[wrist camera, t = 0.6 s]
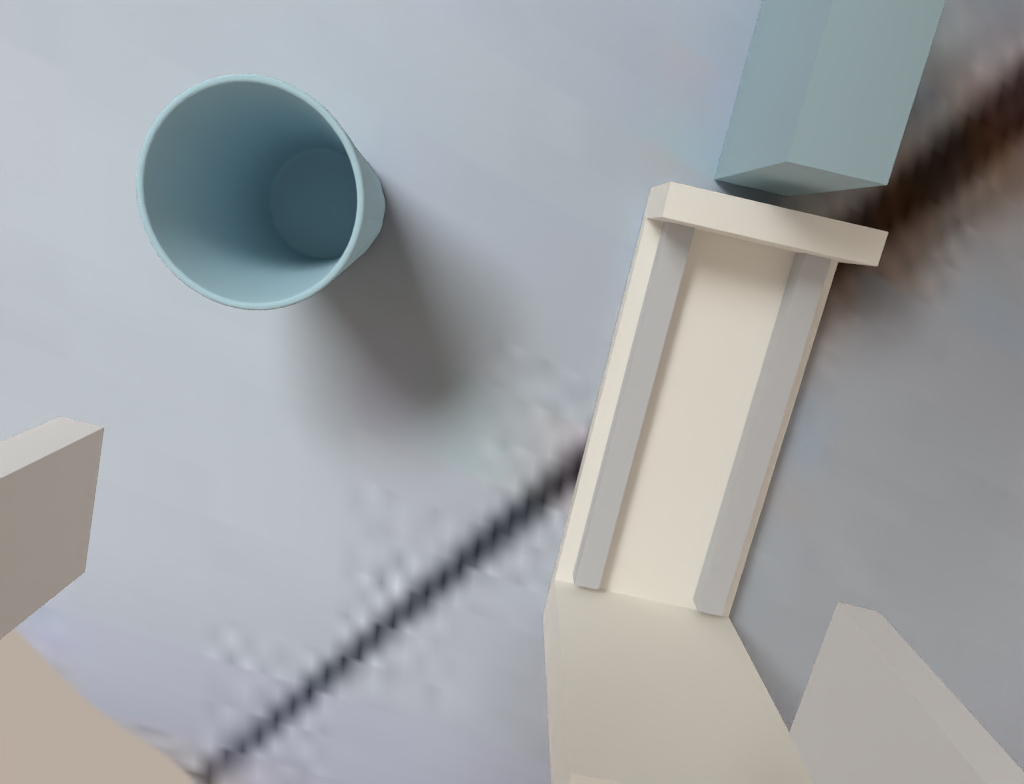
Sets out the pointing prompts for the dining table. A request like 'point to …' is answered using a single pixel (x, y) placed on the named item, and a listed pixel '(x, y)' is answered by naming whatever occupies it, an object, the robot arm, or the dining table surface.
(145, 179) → the cup
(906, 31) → the door panel
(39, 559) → the robot arm
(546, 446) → the dining table surface
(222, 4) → the dining table surface
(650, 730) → the track board
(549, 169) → the dining table surface
